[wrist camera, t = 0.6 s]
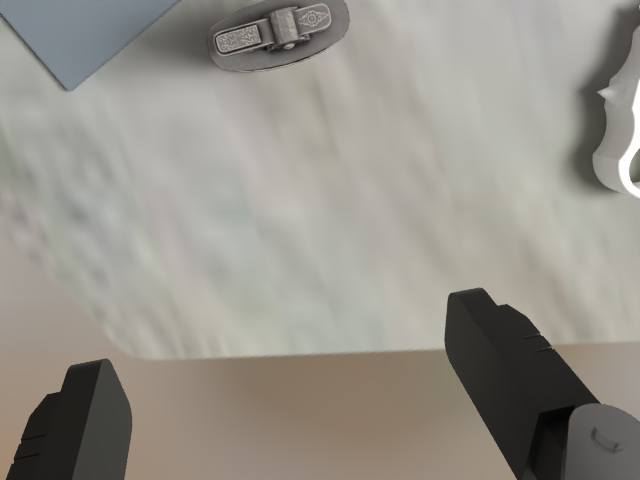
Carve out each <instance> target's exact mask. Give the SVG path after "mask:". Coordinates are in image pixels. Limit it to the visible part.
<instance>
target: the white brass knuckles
mask: <svg viewBox="0 0 640 480" xmlns="http://www.w3.org/2000/svg"><path fill="white" fill-rule="evenodd" d="M639 8H640V5H639ZM597 93H599V94H600V95H601V96H603V97H604V98H605V99H606V100H605V104H604V108H605V111H606V116H607V127H606V132H605V135H604V138H603V140H602V142H601V144H600V146H599V147H598V149H597V150H596V151H595V152H594V153H593V168H594V171H595V174H596V176H597V177H598V179H599V180H600V182H601V183H602V184H604V185H605V186H606V187H608V188H610V189H612V190H615V191H618V192H620V193H623V194H626V195H629V196H632V197H635V198H638V199H640V182H637V183H632V182H631V180H630V177H629V166H630V162H631V160H632V158H633V156H634V154H635V153H636V152H637V151H638V149H639V148H640V25H639V26H638V27H637V28H636V30H635V31H634V32H633V39H632V46H631V50H630V53H629V56H628V58H627V60H626V62H625V63H624V65H623V66H622V68H621V69H620V70H619V71H618V72H617V73H616V74H615V75H614V76H613V77H612V78H611V79H610V83H609V87H607V88H605V89H602V90H600V91H598V92H597Z"/></svg>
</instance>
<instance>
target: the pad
mask: <svg viewBox="0 0 640 480" xmlns="http://www.w3.org/2000/svg"><path fill="white" fill-rule="evenodd" d="M179 1H180V0H0V13H1V14H2V15H3V16H4V17H5V18H6V20H7V21H8V22H9V23H10V24H11V25H12V26H13V28H14V29H15V30H16V31H17V32H18V33H19V35H20V36H21V37H22V38H23V39H24V40H25V42H26V43H27V44H28V45H29V46H30V47H31V48H32V50H33V51H34V52H35V53H36V54H37V55H38V57H39V58H40V59H41V60H42V61H43V62H44V63H45V65H46V66H47V67H48V68H49V69H50V70H51V72H52V73H53V74H54V75H55V76H56V77H57V79H58V80H59V81H60V82H61V83H62V84H63V85H64V87H65V88H66V89H67V90H68V91H73V90H74V89H75V88H76V87H77V86H79V85H80V84H81V83H82V82H83V81H85V80H86V79H87V78H88V77H89V76H91V75H92V74H93V73H94V72H95V71H97V70H98V69H99V68H100V67H101V66H103V65H104V64H105V63H106V62H107V61H109V60H110V59H111V58H112V57H113V56H115V55H116V54H117V53H118V52H119V51H121V50H122V49H123V48H124V47H125V46H127V45H128V44H129V43H130V42H131V41H132V40H134V39H135V38H136V37H137V36H138V35H140V34H141V33H142V32H143V31H144V30H146V29H147V28H148V27H149V26H150V25H152V24H153V23H154V22H155V21H156V20H158V19H159V18H160V17H161V16H162V15H164V14H165V13H166V12H167V11H168V10H170V9H171V8H172V7H173V6H174V5H176V4H177V3H178V2H179Z"/></svg>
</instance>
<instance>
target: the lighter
mask: <svg viewBox="0 0 640 480" xmlns="http://www.w3.org/2000/svg"><path fill="white" fill-rule="evenodd" d="M349 22H350V19H349V11H348V8H347V5H346V3H345V2H344V1H343V0H265V1H262V2H260V3H257V4H254V5H252V6H249V7H246V8H244V9H241V10H239V11H237V12H235V13H233V14H232V15H230V16H228V17H226V18H224V19H222V20H220V21H218V22H217V23H215V24H214V25H213V26H212V27H211V29H210V31H209V33H208V37H207V47H208V52H209V54H210V56H211V59H212V60H213V61H214V62H215V64H216V65H217V66H219V67H220V68H222V69H224V70H228V71H239V72H256V71H268V70H273V69H278V68H283V67H288V66H291V65H294V64H296V63H299V62H302V61H305V60H308V59H310V58H312V57H314V56H316V55H318V54H320V53H322V52H324V51H326V50H328V49H330V48H331V47H332V46H333V45H334V44H335V43H336V42H338V41H339V40H340V39H342V38H343V37H344V35H345V34H346V32H347V30H348V27H349Z"/></svg>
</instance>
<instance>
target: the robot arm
mask: <svg viewBox="0 0 640 480" xmlns="http://www.w3.org/2000/svg"><path fill="white" fill-rule="evenodd" d="M445 348H446V352H447V356H448V359H449V361H450V363H451V365H452V367H453V369H454V370H455V372H456V374H457V376H458V377H459V379H460V381H461V382H462V384H463V386H464V388H465V389H466V391H467V393H468V395H469V396H470V398H471V400H472V402H473V403H474V405H475V407H476V408H477V410H478V412H479V414H480V416H481V417H482V419H483V421H484V423H485V424H486V426H487V428H488V430H489V431H490V433H491V435H492V437H493V438H494V440H495V442H496V444H497V445H498V447H499V449H500V450H501V452H502V454H503V455H504V457H505V459H506V461H507V463H508V465H509V466H510V468H511V470H512V471H513V473H514V475H515V477H516V478H517V480H640V422H639V421H638V420H637V419H636V418H634V417H633V416H632V415H630V414H628V413H627V412H625V411H623V410H621V409H618V408H616V407H613V406H609V405H605V404H601V403H600V402H599V401H598V400H597V399H596V398H595V397H594V395H593V394H592V393H591V392H590V391H589V390H588V389H587V387H586V386H585V385H584V384H583V383H582V381H581V380H580V379H579V378H578V377H577V376H576V374H575V373H574V372H573V371H572V370H571V368H570V367H569V366H568V365H567V364H566V363H565V361H564V360H563V359H562V358H561V357H560V355H559V354H558V353H557V352H556V351H555V349H552V347H551V345H550V344H549V342H548V341H547V340H546V339H545V338H544V336H541V335H540V332H539V331H538V329H537V328H536V327H535V326H534V325H533V323H532V322H531V321H530V320H529V319H528V318H527V316H525V315H523V314H522V313H520V312H519V311H517V310H515V309H514V308H512V307H511V306H509V305H507V304H505V305H500V306H497V305H496V303H495V302H494V301H493V300H492V298H491V297H490V296H489V295H488V293H487V292H486V291H485V290H484V289H483V288H474V289H469V290H464V291H459V292H454V293H450V294H449V297H448V303H447V315H446V327H445ZM131 432H132V414H131V408H130V404H129V401H128V399H127V397H126V394H125V392H124V390H123V388H122V386H121V383H120V381H119V379H118V377H117V374H116V372H115V370H114V368H113V365H112V363H111V362H110V360H108V359H102V360H96V361H91V362H86V363H81V364H76V365H71V366H70V367H69V369H68V371H67V373H66V376H65V379H64V382H63V385H62V389H61V391H60V392H57V393H52V394H47V396H46V397H45V398H44V399H43V401H42V402H41V403H40V404H39V405H38V407H37V408H36V409H35V410H34V412H33V413H32V414H31V415H30V417H29V419H28V422H27V425H26V427H25V430H24V433H23V435H22V438H21V444H19V446H18V449H17V451H16V454H15V457H14V464H12V465H11V467H10V470H9V473H8V475H7V478H6V480H124V477H125V470H126V463H127V458H128V451H129V445H130V439H131Z"/></svg>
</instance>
